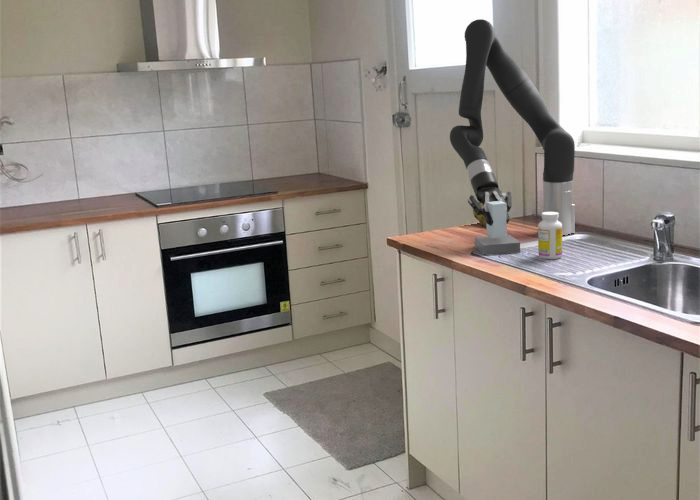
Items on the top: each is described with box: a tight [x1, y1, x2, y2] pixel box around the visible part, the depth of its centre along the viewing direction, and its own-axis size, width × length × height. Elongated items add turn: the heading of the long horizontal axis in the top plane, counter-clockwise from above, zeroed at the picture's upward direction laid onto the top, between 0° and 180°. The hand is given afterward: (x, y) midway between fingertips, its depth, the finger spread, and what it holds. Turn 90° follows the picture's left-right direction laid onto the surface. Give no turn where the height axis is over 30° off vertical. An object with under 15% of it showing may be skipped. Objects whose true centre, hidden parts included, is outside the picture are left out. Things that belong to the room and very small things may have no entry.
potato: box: [472, 201, 486, 227], centre depth 269 cm, size 8×13×8 cm, turn 7°
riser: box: [474, 234, 521, 255], centre depth 235 cm, size 11×11×3 cm
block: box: [485, 201, 508, 238], centre depth 233 cm, size 4×4×10 cm
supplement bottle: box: [537, 211, 563, 260], centre depth 222 cm, size 7×7×13 cm
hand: (499, 223), depth 232 cm, fingers closed on block, 4 cm apart
